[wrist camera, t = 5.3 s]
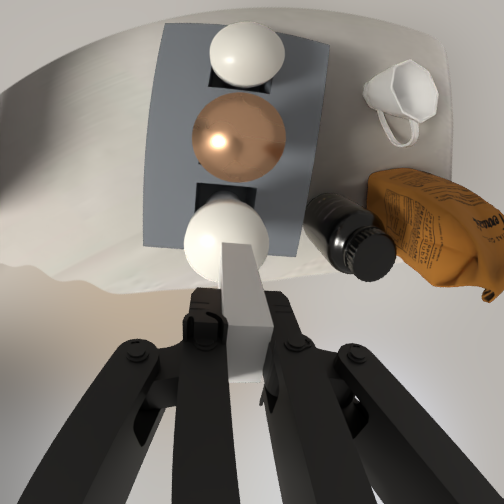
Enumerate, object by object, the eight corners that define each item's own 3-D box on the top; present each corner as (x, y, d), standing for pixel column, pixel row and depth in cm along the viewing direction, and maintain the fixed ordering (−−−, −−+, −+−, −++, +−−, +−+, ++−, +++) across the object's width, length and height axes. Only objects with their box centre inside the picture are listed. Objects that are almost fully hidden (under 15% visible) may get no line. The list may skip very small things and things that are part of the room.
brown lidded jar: (198, 163, 22) (187, 178, 15) (205, 105, 20) (197, 88, 13) (258, 169, 23) (278, 187, 16) (266, 111, 21) (291, 100, 13)
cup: (393, 71, 26) (433, 63, 18) (404, 143, 30) (445, 150, 22) (348, 68, 25) (383, 54, 18) (360, 146, 30) (398, 152, 22)
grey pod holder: (159, 219, 30) (143, 246, 23) (177, 49, 23) (165, 23, 15) (278, 228, 33) (295, 257, 25) (303, 64, 25) (329, 45, 18)
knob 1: (208, 96, 23) (204, 80, 16) (216, 50, 21) (215, 18, 13) (261, 102, 24) (280, 89, 16) (268, 57, 22) (288, 28, 14)
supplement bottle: (358, 228, 34) (411, 270, 23) (313, 252, 35) (353, 306, 24) (340, 181, 31) (397, 208, 20) (292, 207, 32) (330, 247, 21)
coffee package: (424, 233, 36) (529, 311, 16) (358, 237, 35) (471, 345, 15) (433, 169, 32) (558, 221, 12) (364, 163, 30) (515, 220, 11)
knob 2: (192, 234, 25) (182, 280, 17) (196, 178, 23) (185, 201, 15) (248, 238, 26) (262, 285, 18) (256, 183, 24) (275, 208, 16)
